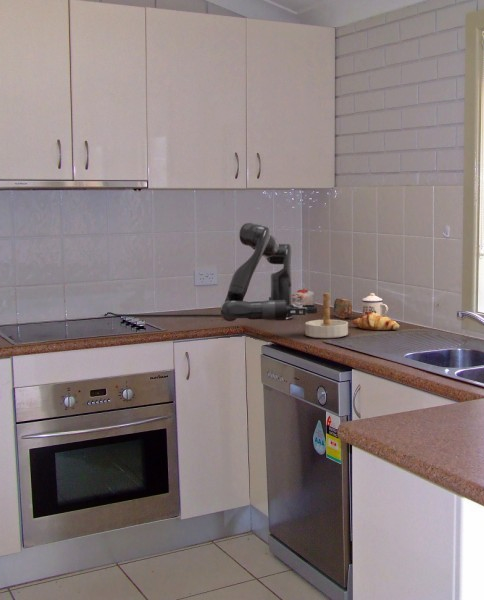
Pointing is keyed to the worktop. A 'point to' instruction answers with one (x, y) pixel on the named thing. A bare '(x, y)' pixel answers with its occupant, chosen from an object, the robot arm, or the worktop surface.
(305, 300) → the food item
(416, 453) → the worktop surface
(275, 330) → the worktop surface
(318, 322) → the bowl
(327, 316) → the wooden pestle
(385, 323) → the croissant
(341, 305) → the tin
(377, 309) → the teacup with lid
